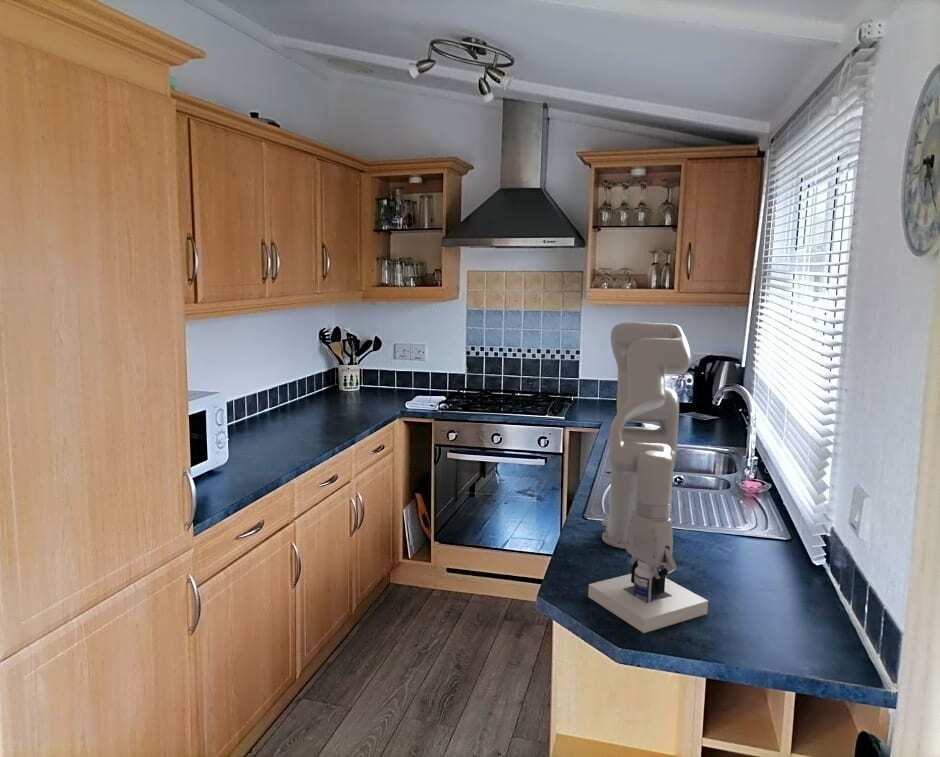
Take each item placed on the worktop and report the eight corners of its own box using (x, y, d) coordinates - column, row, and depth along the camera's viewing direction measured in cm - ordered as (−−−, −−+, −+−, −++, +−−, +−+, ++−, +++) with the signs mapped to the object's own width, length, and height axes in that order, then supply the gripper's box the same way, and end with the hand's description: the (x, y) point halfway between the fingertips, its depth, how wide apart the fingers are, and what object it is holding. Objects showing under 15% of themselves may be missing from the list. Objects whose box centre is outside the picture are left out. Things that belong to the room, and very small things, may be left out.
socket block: (588, 596, 159) (588, 584, 159) (648, 581, 168) (649, 569, 167) (643, 633, 144) (644, 619, 143) (707, 613, 152) (708, 600, 152)
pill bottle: (655, 596, 159) (658, 554, 157) (663, 608, 153) (666, 565, 151) (630, 596, 158) (632, 554, 157) (636, 608, 153) (639, 564, 151)
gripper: (612, 499, 158) (608, 575, 161) (668, 524, 143) (662, 608, 146) (638, 494, 162) (633, 569, 164) (694, 518, 147) (689, 600, 150)
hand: (647, 586), depth 155 cm, fingers closed on pill bottle, 5 cm apart
